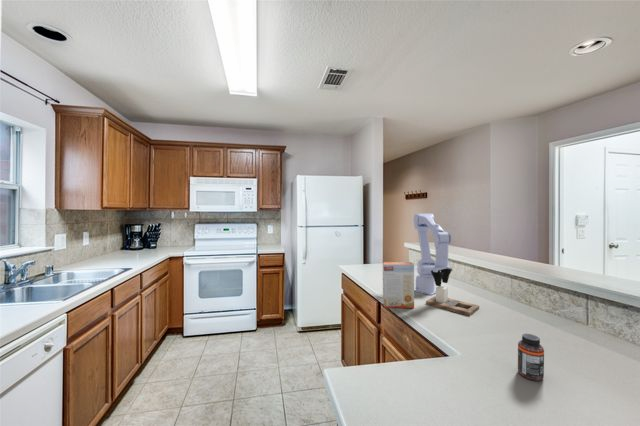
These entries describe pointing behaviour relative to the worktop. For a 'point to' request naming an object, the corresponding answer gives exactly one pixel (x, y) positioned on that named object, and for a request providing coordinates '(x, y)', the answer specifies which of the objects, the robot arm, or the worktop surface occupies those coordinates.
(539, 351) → the supplement bottle
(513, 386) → the worktop surface
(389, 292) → the cracker box
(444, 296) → the plug
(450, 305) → the socket panel
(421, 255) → the robot arm
